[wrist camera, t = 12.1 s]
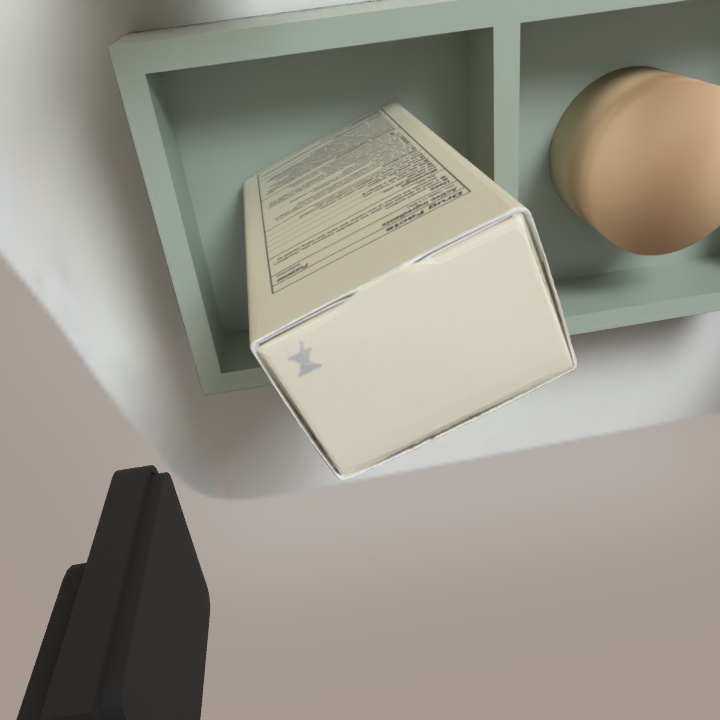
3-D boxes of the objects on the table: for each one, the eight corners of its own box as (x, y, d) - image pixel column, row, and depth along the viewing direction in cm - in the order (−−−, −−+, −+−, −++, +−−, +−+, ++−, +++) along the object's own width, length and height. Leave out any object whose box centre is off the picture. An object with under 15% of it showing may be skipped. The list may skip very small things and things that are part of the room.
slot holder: (791, -55, 23) (879, -56, 20) (731, 260, 29) (791, 298, 26) (128, 33, 22) (107, 46, 19) (209, 344, 28) (203, 396, 25)
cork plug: (706, 55, 24) (773, 70, 21) (684, 209, 27) (740, 242, 24) (552, 77, 24) (597, 95, 21) (546, 231, 27) (585, 266, 23)
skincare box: (296, 279, 26) (327, 495, 16) (238, 178, 24) (229, 352, 13) (450, 202, 25) (589, 375, 15) (404, 91, 23) (530, 204, 13)
